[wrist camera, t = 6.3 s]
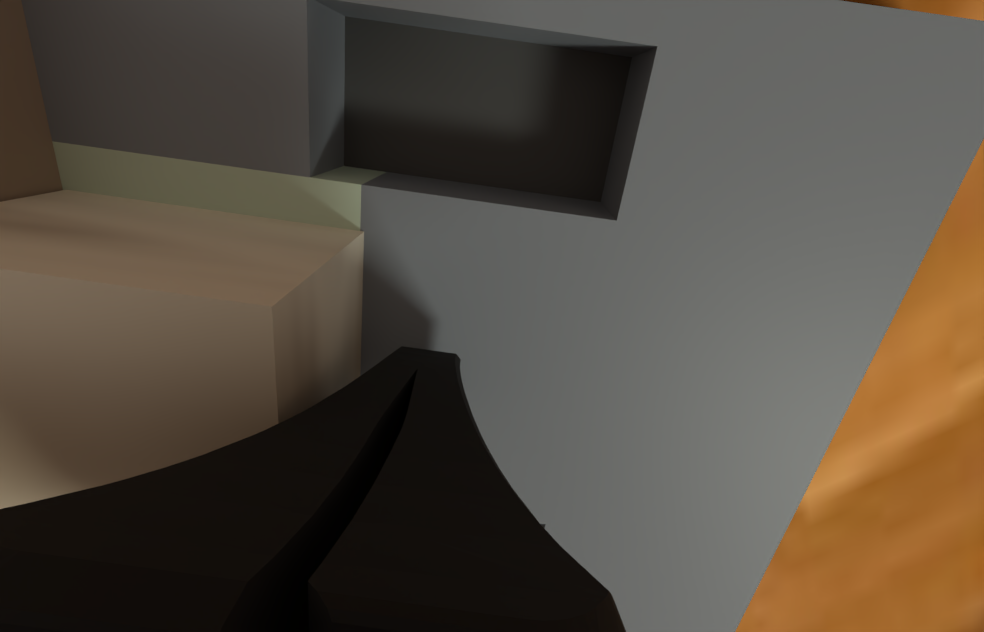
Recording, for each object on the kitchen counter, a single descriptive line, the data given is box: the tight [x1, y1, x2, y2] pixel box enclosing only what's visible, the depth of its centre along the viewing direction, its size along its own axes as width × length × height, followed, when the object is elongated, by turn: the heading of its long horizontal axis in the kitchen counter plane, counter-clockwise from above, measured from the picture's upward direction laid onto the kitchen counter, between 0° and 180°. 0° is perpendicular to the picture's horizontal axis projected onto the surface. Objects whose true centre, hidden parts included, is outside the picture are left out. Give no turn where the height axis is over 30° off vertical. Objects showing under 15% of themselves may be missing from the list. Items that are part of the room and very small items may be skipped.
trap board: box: [0, 0, 984, 632], centre depth 11 cm, size 16×18×4 cm
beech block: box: [0, 190, 364, 509], centre depth 9 cm, size 6×6×4 cm
